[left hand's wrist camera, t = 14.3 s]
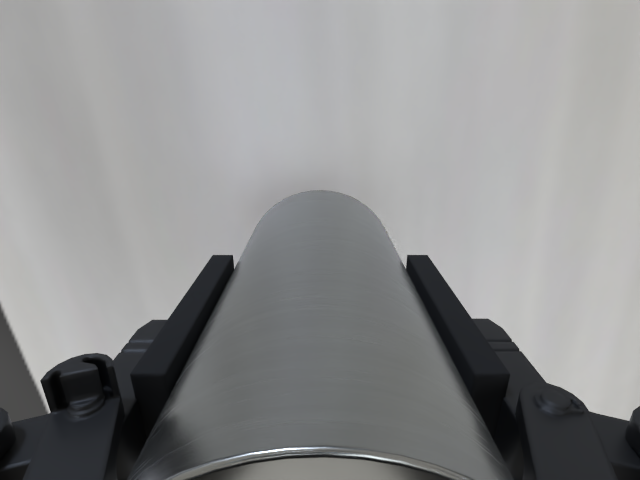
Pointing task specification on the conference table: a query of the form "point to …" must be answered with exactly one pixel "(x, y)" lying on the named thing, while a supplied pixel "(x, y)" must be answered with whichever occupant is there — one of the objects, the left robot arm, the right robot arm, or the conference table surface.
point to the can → (320, 366)
